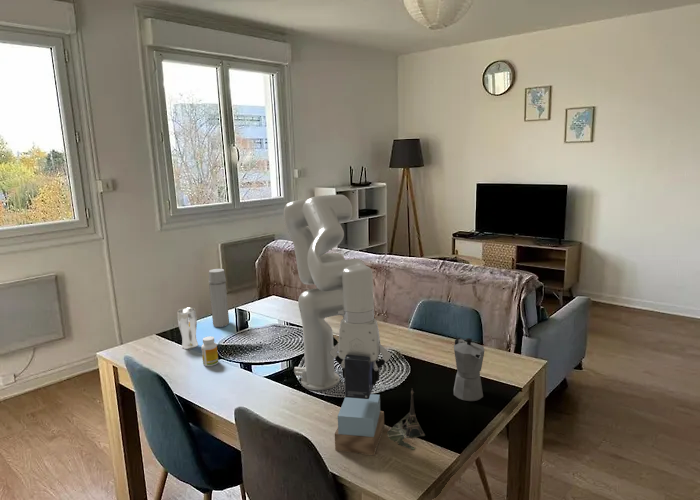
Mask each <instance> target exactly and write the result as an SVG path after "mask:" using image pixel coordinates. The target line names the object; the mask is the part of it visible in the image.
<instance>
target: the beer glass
mask: <svg viewBox="0 0 700 500" xmlns="http://www.w3.org/2000/svg"><path fill="white" fill-rule="evenodd" d="M176 312H177V323H178V324H177V325H178V329H179V331H180V335H181V340H182V341H181V342H182V343H181V348H182V349H185V350H192V349H195V348H197V347H198V346H199V343H198V339H197V324H198V323H197V321H198V320H197V313H196V309H195V308H194V307H183V308H180V309H178V310H177V311H176Z"/></svg>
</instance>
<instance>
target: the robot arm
mask: <svg viewBox="0 0 700 500" xmlns="http://www.w3.org/2000/svg"><path fill="white" fill-rule="evenodd" d="M352 217H353V205H352V202H351V200H350V199H349V198H348V197H347V196H346V195H344V194H327V195H326V194H325V195H316V196H315V195H314V196H312V197H310V198H309V197H308V198H303V199H297V200H293V201H289V202H287V203H286V204H285V205H284V208H283V221H284V226H285V228H286V230H287V233H288V235H289V238H290V239H291V242H292V243H293V248H294V254H295V261H296V267H297V272H298V277H299V280H300V282H301V283H302V284H303V285H308V286H310V285H315V287H316V288H312V289H307V290H305V291H303V292H301V293H300V294H299V297H298V303H297V304H298V308H299V313H300V318H301V323H302V324H301V325H302V336H303V350H304V351H303V352H304V354H303V355H304V366H303V367H301V366H294V369H293V372H294V375H295V376H297V377H298V376H301V379H300V380H301V381H300V382H301V386H302V387H304V388H305V389H307V390H310V391H326V390H330V389H332V388H335V387H336V386H337V385H339V383H340V379H341V378H340V375H339V374H338V373H336V372H335V361H336V362H337V363H338V365H340V368H341V369H342V378H343V379H345V367H344V366H345V365H344V358H345V357H346V355H358V356H366V357H370V362H372V367H373V370H372V385H374V386H376V384H377V382H379V381H380V368H381V367H383V366H384V365H385V364H386V363H387V362H388V361H389V360H390V359H391V357H392V354H391V352H389V350H387V348H385V347H384V346H383V345H382V344H381V336H380V330H379V326H378V321H377V318H375V312H374V311H375V310H374V309H375V308H374V307H375V305H374V282H373V281H374V275H373V270H372V268H371V267H370V266H368V265H366V264H365V262H364V261H363V260H361V259H360V258H359V259H358V258H350V259H349V258H348V259H346V258H345V257H344V255H342V254H341V253H339V252H329V251H330V250H332V249H334V248H336V247H337V246H338V245H340V244H341V242H342V241H343V239H344V236H345V232H344V229H343V226H342V225H341V224H344V223H348V222H349V221H350V220H351V219H352ZM335 316H336V317H337V316H342V319H341V320H340V323H339V330H338V337H339V343H338V342H337V343H336V345H334V338H333V335H334V331H333V328H332V326H331V325H330V324H329V323H328V322H327V320H325V319H327V318H330V317H335ZM333 347H334V348H333ZM380 355H382V356H383V357H382V358H380V359H379V357H380Z"/></svg>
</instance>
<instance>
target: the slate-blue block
mask: <svg viewBox="0 0 700 500" xmlns="http://www.w3.org/2000/svg"><path fill="white" fill-rule="evenodd" d="M380 411H381V394H374V393H371V394H370V397H369V399H359V398H347V397H345V396H344V399H343V402H342V404H341V407H340V409H339V411H338V414H337V428H338V434H343V435H355V436H367V437H374V435H375V431H376V427H377V423H378V419H379V415H380Z"/></svg>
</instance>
